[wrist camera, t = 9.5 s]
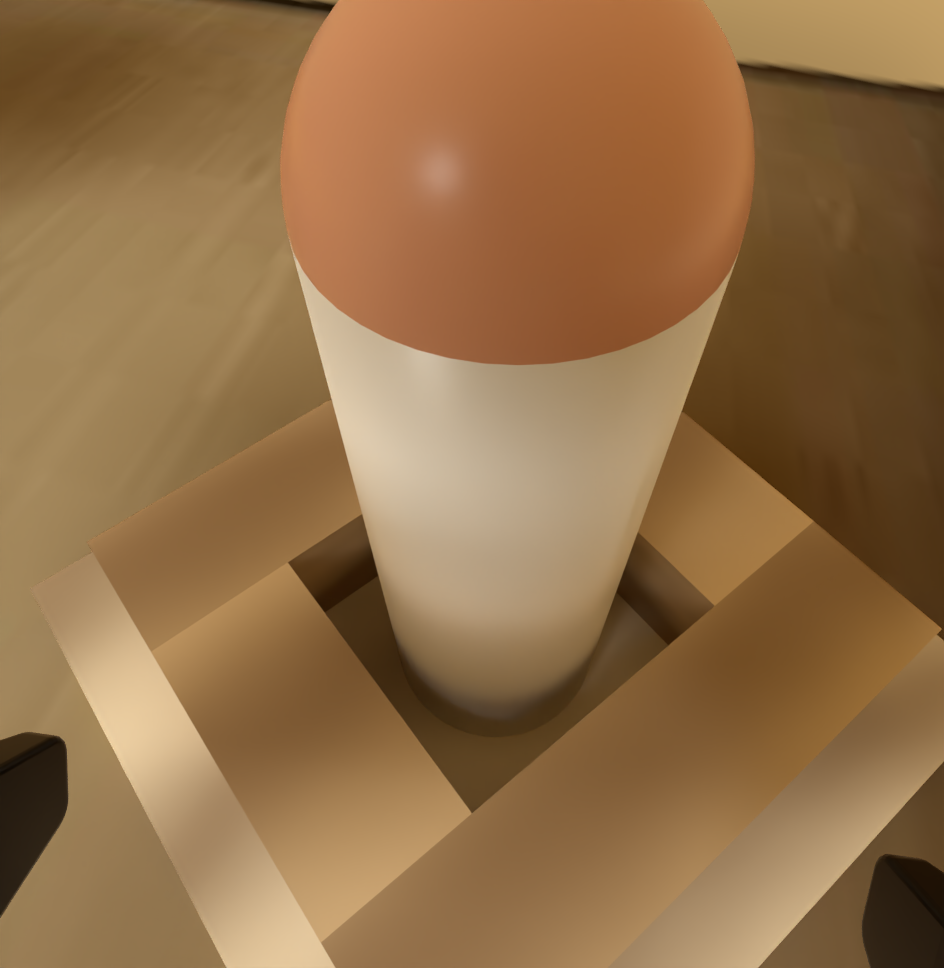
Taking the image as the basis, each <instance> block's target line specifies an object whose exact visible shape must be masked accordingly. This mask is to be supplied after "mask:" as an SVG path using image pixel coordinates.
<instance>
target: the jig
mask: <svg viewBox="0 0 944 968" xmlns="http://www.w3.org/2000/svg"><path fill="white" fill-rule="evenodd" d="M87 543H88V545H89V547H90V549H91V550H92V552H91V553H89V554H87V555H86V556H84V557H82V558H81V559H79V560H77V561H76V562H74V563H72V564H70V565H69V566H67V567H65V568H64V569H62V570H60V571H59V572H57V573H55V574H54V575H52V576H50V577H48V578H47V579H45V580H43V581H42V582H40V583H38V584H37V585H35V586H33V587H32V588H30V590H31V592H32V594H33V596H34V597H35V599H36V601H37V603H38V605H39V607H40V609H41V611H42V613H43V615H44V617H45V619H46V621H47V623H48V624H49V626H50V628H51V630H52V632H53V634H54V636H55V638H56V640H57V642H58V644H59V646H60V648H61V650H62V651H63V653H64V655H65V657H66V659H67V661H68V663H69V665H70V667H71V669H72V671H73V673H74V675H75V677H76V678H77V680H78V682H79V684H80V686H81V688H82V690H83V692H84V694H85V696H86V698H87V700H88V702H89V704H90V705H91V707H92V709H93V711H94V713H95V715H96V717H97V719H98V721H99V723H100V725H101V727H102V729H103V731H104V732H105V734H106V736H107V738H108V740H109V742H110V744H111V746H112V748H113V750H114V752H115V754H116V756H117V757H118V759H119V761H120V763H121V765H122V767H123V769H124V771H125V773H126V775H127V777H128V779H129V781H130V783H131V784H132V786H133V788H134V790H135V792H136V794H137V796H138V798H139V800H140V802H141V804H142V806H143V808H144V810H145V811H146V813H147V815H148V817H149V819H150V821H151V823H152V825H153V827H154V829H155V831H156V833H157V835H158V837H159V838H160V840H161V842H162V844H163V846H164V848H165V850H166V852H167V854H168V856H169V858H170V860H171V862H172V864H173V865H174V867H175V869H176V871H177V873H178V875H179V877H180V879H181V881H182V883H183V885H184V887H185V889H186V891H187V892H188V894H189V896H190V898H191V900H192V902H193V904H194V906H195V908H196V910H197V912H198V914H199V916H200V918H201V919H202V921H203V923H204V925H205V927H206V929H207V931H208V933H209V935H210V937H211V939H212V941H213V943H214V945H215V946H216V948H217V950H218V952H219V954H220V956H221V958H222V960H223V962H224V964H225V966H226V968H758V967H759V966H760V965H761V964H762V962H763V961H764V960H765V959H766V958H767V957H768V956H769V955H770V954H771V952H772V951H773V950H774V949H775V948H776V947H777V946H778V945H779V944H780V942H781V941H782V940H783V939H784V938H785V937H786V936H787V935H788V934H789V933H790V931H791V930H792V929H793V928H794V927H795V926H796V925H797V924H798V923H799V921H800V920H801V919H802V918H803V917H804V916H805V915H806V914H807V913H808V911H809V910H810V909H811V908H812V907H813V906H814V905H815V904H816V903H817V901H818V900H819V899H820V898H821V897H822V896H823V895H824V894H825V893H826V891H827V890H828V889H829V888H830V887H831V886H832V885H833V884H834V883H835V881H836V880H837V879H838V878H839V877H840V876H841V875H842V874H843V873H844V871H845V870H846V869H847V868H848V867H849V866H850V865H851V864H852V863H853V861H854V860H855V859H856V858H857V857H858V856H859V855H860V854H861V853H862V851H863V850H864V849H865V848H866V847H867V846H868V845H869V844H870V843H871V841H872V840H873V839H874V838H875V837H876V836H877V835H878V834H879V833H880V831H881V830H882V829H883V828H884V827H885V826H886V825H887V824H888V823H889V821H890V820H891V819H892V818H893V817H894V816H895V815H896V814H897V813H898V811H899V810H900V809H901V808H902V807H903V806H904V805H905V804H906V803H907V801H908V800H909V799H910V798H911V797H912V796H913V795H914V794H915V793H916V791H917V790H918V789H919V788H920V787H921V786H922V785H923V784H924V783H925V781H926V780H927V779H928V778H929V777H930V776H931V775H932V774H933V773H934V772H935V770H936V769H937V768H938V767H939V766H940V765H941V764H942V763H943V762H944V641H943V640H942V639H941V638H940V637H939V636H938V635H937V634H938V633H939V632H940V631H941V630H942V628H940V627H939V626H938V625H937V624H936V623H934V622H933V621H932V620H931V619H930V618H928V617H927V616H926V615H925V614H924V613H922V612H921V611H920V610H919V609H918V608H917V607H915V606H914V605H913V604H912V603H911V602H909V601H908V600H907V599H906V598H905V597H903V596H902V595H901V594H900V593H899V592H897V591H896V590H895V589H894V588H893V587H891V586H890V585H889V584H888V583H887V582H886V581H884V580H883V579H882V578H881V577H880V576H878V575H877V574H876V573H875V572H874V571H872V570H871V569H870V568H869V567H868V566H866V565H865V564H864V563H863V562H862V561H860V560H859V559H858V558H857V557H856V556H855V555H853V554H852V553H851V552H850V551H849V550H847V549H846V548H845V547H844V546H843V545H841V544H840V543H839V542H838V541H837V540H835V539H834V538H833V537H832V536H831V535H830V534H828V533H827V532H826V531H825V530H824V529H822V528H821V527H820V526H819V525H818V524H816V523H815V522H814V521H813V520H812V519H810V518H809V517H808V516H807V515H806V514H804V513H803V512H802V511H801V510H800V509H799V508H797V507H796V506H795V505H794V504H793V503H791V502H790V501H789V500H788V499H787V498H785V497H784V496H783V495H782V494H781V493H779V492H778V491H777V490H776V489H775V488H773V487H772V486H771V485H770V484H769V483H768V482H766V481H765V480H764V479H763V478H762V477H760V476H759V475H758V474H757V473H756V472H754V471H753V470H752V469H751V468H750V467H748V466H747V465H746V464H745V463H744V462H742V461H741V460H740V459H739V458H738V457H737V456H735V455H734V454H733V453H732V452H731V451H729V450H728V449H727V448H726V447H725V446H723V445H722V444H721V443H720V442H719V441H717V440H716V439H715V438H714V437H713V436H712V435H710V434H709V433H708V432H707V431H706V430H704V429H703V428H702V427H701V426H700V425H698V424H697V423H696V422H695V421H694V420H692V419H691V418H690V417H689V416H688V415H686V414H685V413H684V412H683V411H681V414H680V417H679V419H678V422H677V425H676V428H675V430H674V433H673V436H672V439H671V442H670V444H669V447H668V450H667V453H666V455H665V458H664V461H663V464H662V466H661V469H660V472H659V475H658V477H657V480H656V483H655V486H654V489H653V491H652V494H651V497H650V500H649V502H648V505H647V508H646V511H645V513H644V516H643V519H642V522H641V524H640V527H639V530H638V533H637V535H636V538H635V541H634V544H633V547H632V549H631V552H630V555H629V558H628V560H627V563H626V566H625V569H624V571H623V574H622V577H621V580H620V582H619V585H618V588H617V591H616V593H615V596H614V599H613V602H612V605H611V607H610V610H609V613H608V616H607V618H606V621H605V624H604V627H603V629H602V632H601V635H600V638H599V640H598V643H597V646H596V649H595V652H594V654H593V657H592V660H591V663H590V665H589V668H588V671H587V674H586V676H585V679H584V681H583V683H582V686H581V688H580V689H579V691H578V693H577V694H576V696H575V697H574V699H573V700H572V701H571V702H570V704H569V705H568V706H567V707H566V708H565V709H564V710H563V711H562V712H561V713H560V714H559V715H558V716H556V717H555V718H553V719H552V720H551V721H549V722H548V723H546V724H544V725H542V726H540V727H538V728H536V729H534V730H531V731H528V732H526V733H523V734H518V735H513V736H505V737H488V736H480V735H475V734H470V733H467V732H464V731H461V730H458V729H456V728H454V727H452V726H450V725H448V724H446V723H444V722H443V721H442V720H440V719H439V718H437V717H436V716H434V715H433V714H432V713H431V712H430V711H429V710H428V709H427V708H426V707H425V706H424V705H423V704H422V703H421V701H420V700H419V699H418V698H417V697H416V695H415V693H414V692H413V690H412V688H411V687H410V685H409V683H408V680H407V678H406V676H405V673H404V669H403V666H402V662H401V659H400V655H399V651H398V647H397V644H396V640H395V636H394V632H393V629H392V625H391V621H390V617H389V613H388V610H387V606H386V602H385V598H384V595H383V591H382V587H381V583H380V580H379V576H378V572H377V568H376V564H375V561H374V557H373V553H372V549H371V546H370V542H369V538H368V534H367V531H366V527H365V523H364V519H363V515H362V512H361V508H360V504H359V500H358V497H357V493H356V489H355V485H354V482H353V478H352V474H351V470H350V466H349V463H348V459H347V455H346V451H345V448H344V444H343V440H342V436H341V433H340V429H339V425H338V421H337V417H336V414H335V410H334V406H333V402H332V399H330V400H328V401H327V402H325V403H323V404H322V405H320V406H318V407H316V408H315V409H313V410H311V411H310V412H308V413H306V414H304V415H303V416H301V417H299V418H298V419H296V420H294V421H293V422H291V423H289V424H287V425H286V426H284V427H282V428H281V429H279V430H277V431H275V432H274V433H272V434H270V435H269V436H267V437H265V438H263V439H262V440H260V441H258V442H257V443H255V444H253V445H252V446H250V447H248V448H246V449H245V450H243V451H241V452H240V453H238V454H236V455H234V456H233V457H231V458H229V459H228V460H226V461H224V462H222V463H221V464H219V465H217V466H216V467H214V468H212V469H210V470H209V471H207V472H205V473H204V474H202V475H200V476H199V477H197V478H195V479H193V480H192V481H190V482H188V483H187V484H185V485H183V486H181V487H180V488H178V489H176V490H175V491H173V492H171V493H169V494H168V495H166V496H164V497H163V498H161V499H159V500H158V501H156V502H154V503H152V504H151V505H149V506H147V507H146V508H144V509H142V510H140V511H139V512H137V513H135V514H134V515H132V516H130V517H128V518H127V519H125V520H123V521H122V522H120V523H118V524H117V525H115V526H113V527H111V528H110V529H108V530H106V531H105V532H103V533H101V534H99V535H98V536H96V537H94V538H93V539H91V540H89V541H87Z"/></svg>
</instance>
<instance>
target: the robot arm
mask: <svg viewBox="0 0 944 968" xmlns="http://www.w3.org/2000/svg"><path fill="white" fill-rule="evenodd" d="M67 805H68V773H67V749H66V744H65V742H64V741H63V739H61V738H60V737H59V736H54V735H47V734H40V733H33V732H25V733H21V734H18V735H15V736H12V737H9V738H6V739H3V740H0V917H1V916H2V914H3V913H4V911H5V910H6V908H7V907H8V905H9V903H10V902H11V900H12V899H13V897H14V896H15V894H16V893H17V891H18V890H19V888H20V886H21V885H22V883H23V882H24V880H25V879H26V877H27V876H28V874H29V873H30V871H31V869H32V868H33V866H34V865H35V863H36V862H37V860H38V859H39V857H40V856H41V854H42V852H43V851H44V849H45V848H46V846H47V845H48V843H49V842H50V840H51V839H52V837H53V835H54V834H55V832H56V831H57V829H58V828H59V826H60V824H61V822H62V820H63V818H64V816H65V813H66V810H67ZM862 937H863V943H864V947H865V951H866V954H867V958H868V961H869V964H870V968H944V873H943V872H942V871H940V870H939V869H937V868H936V867H934V866H933V865H931V864H930V863H929V862H927V861H925V860H922V859H919V858H913V857H906V856H898V855H891V854H885V855H883V856H881V857H880V858H879V859H878V860H877V862H876V865H875V867H874V871H873V876H872V880H871V884H870V889H869V893H868V897H867V901H866V906H865V910H864V914H863V920H862Z"/></svg>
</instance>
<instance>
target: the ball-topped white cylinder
mask: <svg viewBox="0 0 944 968" xmlns="http://www.w3.org/2000/svg"><path fill="white" fill-rule="evenodd" d="M280 168H281V193H282V205H283V211H284V217H285V222H286V227H287V233H288V237H289V240H290V244H291V248H292V252H293V255H294V259H295V263H296V267H297V270H298V274H299V278H300V282H301V286H302V289H303V293H304V297H305V301H306V304H307V308H308V312H309V316H310V319H311V323H312V327H313V331H314V335H315V338H316V342H317V346H318V350H319V353H320V357H321V361H322V365H323V368H324V372H325V376H326V380H327V384H328V387H329V391H330V395H331V399H332V402H333V406H334V410H335V414H336V417H337V421H338V425H339V429H340V433H341V436H342V440H343V444H344V448H345V451H346V455H347V459H348V463H349V466H350V470H351V474H352V478H353V482H354V485H355V489H356V493H357V497H358V500H359V504H360V508H361V512H362V515H363V519H364V523H365V527H366V531H367V534H368V538H369V542H370V546H371V549H372V553H373V557H374V561H375V564H376V568H377V572H378V576H379V580H380V583H381V587H382V591H383V595H384V598H385V602H386V606H387V610H388V613H389V617H390V621H391V625H392V629H393V632H394V636H395V640H396V644H397V647H398V651H399V655H400V659H401V662H402V666H403V669H404V673H405V676H406V678H407V680H408V683H409V685H410V687H411V688H412V690H413V692H414V693H415V695H416V697H417V698H418V699H419V700H420V701H421V703H422V704H423V705H424V706H425V707H426V708H427V709H428V710H429V711H430V712H431V713H432V714H433V715H434V716H436V717H437V718H439V719H440V720H442V721H443V722H444V723H446V724H448V725H450V726H452V727H454V728H456V729H458V730H461V731H464V732H467V733H470V734H475V735H480V736H488V737H505V736H513V735H518V734H523V733H526V732H528V731H531V730H534V729H536V728H538V727H540V726H542V725H544V724H546V723H548V722H549V721H551V720H552V719H553V718H555V717H556V716H558V715H559V714H560V713H561V712H562V711H563V710H564V709H565V708H566V707H567V706H568V705H569V704H570V702H571V701H572V700H573V699H574V697H575V696H576V694H577V693H578V691H579V689H580V688H581V686H582V683H583V681H584V679H585V676H586V674H587V671H588V668H589V665H590V663H591V660H592V657H593V654H594V652H595V649H596V646H597V643H598V640H599V638H600V635H601V632H602V629H603V627H604V624H605V621H606V618H607V616H608V613H609V610H610V607H611V605H612V602H613V599H614V596H615V593H616V591H617V588H618V585H619V582H620V580H621V577H622V574H623V571H624V569H625V566H626V563H627V560H628V558H629V555H630V552H631V549H632V547H633V544H634V541H635V538H636V535H637V533H638V530H639V527H640V524H641V522H642V519H643V516H644V513H645V511H646V508H647V505H648V502H649V500H650V497H651V494H652V491H653V489H654V486H655V483H656V480H657V477H658V475H659V472H660V469H661V466H662V464H663V461H664V458H665V455H666V453H667V450H668V447H669V444H670V442H671V439H672V436H673V433H674V430H675V428H676V425H677V422H678V419H679V417H680V414H681V411H682V408H683V406H684V403H685V400H686V397H687V395H688V392H689V389H690V386H691V384H692V381H693V378H694V375H695V372H696V370H697V367H698V364H699V361H700V359H701V356H702V353H703V350H704V348H705V345H706V342H707V339H708V337H709V334H710V331H711V328H712V326H713V323H714V320H715V317H716V314H717V312H718V309H719V306H720V303H721V301H722V298H723V295H724V292H725V290H726V287H727V284H728V281H729V279H730V276H731V273H732V270H733V267H734V265H735V262H736V259H737V256H738V254H739V251H740V247H741V243H742V240H743V236H744V232H745V229H746V225H747V221H748V217H749V212H750V208H751V203H752V194H753V185H754V173H755V151H754V129H753V123H752V118H751V113H750V108H749V104H748V99H747V94H746V89H745V84H744V80H743V77H742V75H741V72H740V70H739V67H738V64H737V62H736V59H735V57H734V54H733V52H732V49H731V47H730V45H729V43H728V41H727V38H726V36H725V34H724V33H723V31H722V30H721V28H720V26H719V24H718V23H717V21H716V20H715V18H714V16H713V14H712V13H711V11H710V10H709V8H708V7H707V5H706V4H705V3H704V1H703V0H339V1H338V2H337V3H336V5H335V6H334V8H333V9H332V11H331V12H330V14H329V15H328V17H327V18H326V20H325V21H324V22H323V24H322V25H321V27H320V29H319V30H318V32H317V34H316V35H315V37H314V39H313V41H312V43H311V45H310V47H309V49H308V51H307V53H306V55H305V58H304V60H303V62H302V64H301V66H300V69H299V72H298V74H297V77H296V80H295V83H294V86H293V90H292V93H291V97H290V100H289V104H288V107H287V111H286V117H285V125H284V133H283V141H282V149H281V156H280Z"/></svg>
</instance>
